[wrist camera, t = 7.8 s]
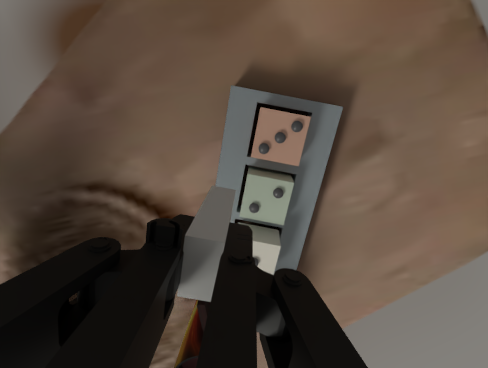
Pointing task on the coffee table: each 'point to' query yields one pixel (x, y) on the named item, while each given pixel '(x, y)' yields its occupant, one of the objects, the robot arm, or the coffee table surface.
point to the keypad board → (303, 175)
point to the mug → (193, 336)
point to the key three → (280, 136)
